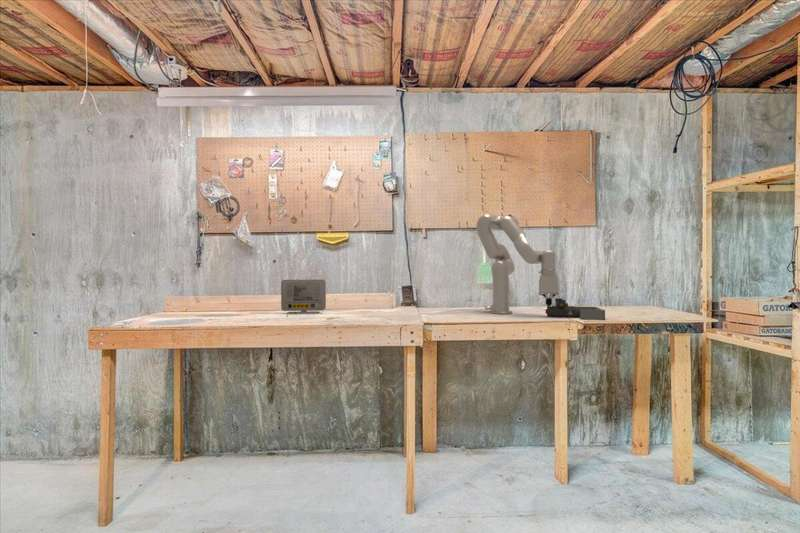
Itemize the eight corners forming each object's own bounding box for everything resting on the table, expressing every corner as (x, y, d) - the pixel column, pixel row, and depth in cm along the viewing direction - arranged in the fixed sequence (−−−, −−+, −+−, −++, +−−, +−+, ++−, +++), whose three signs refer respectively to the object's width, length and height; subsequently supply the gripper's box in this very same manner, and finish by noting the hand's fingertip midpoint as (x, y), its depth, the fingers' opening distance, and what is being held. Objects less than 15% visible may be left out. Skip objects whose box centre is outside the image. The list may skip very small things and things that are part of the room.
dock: (580, 319, 219) (580, 309, 219) (573, 315, 235) (573, 306, 235) (605, 319, 216) (605, 310, 216) (596, 315, 233) (596, 306, 233)
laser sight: (591, 319, 221) (591, 300, 221) (547, 318, 226) (547, 299, 225) (587, 316, 230) (587, 298, 230) (544, 315, 235) (544, 298, 235)
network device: (326, 312, 252) (326, 279, 251) (324, 314, 243) (324, 279, 243) (283, 312, 250) (283, 279, 250) (280, 314, 241) (280, 280, 241)
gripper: (535, 273, 227) (535, 306, 228) (563, 272, 224) (564, 306, 224) (533, 272, 235) (534, 305, 235) (561, 272, 232) (561, 305, 232)
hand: (548, 305), depth 230 cm, fingers closed
